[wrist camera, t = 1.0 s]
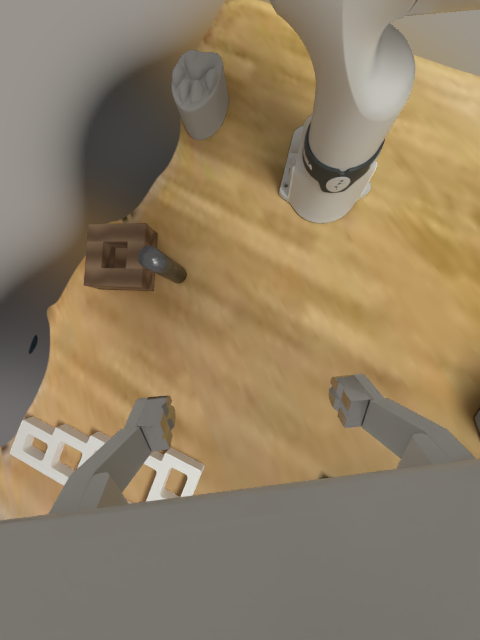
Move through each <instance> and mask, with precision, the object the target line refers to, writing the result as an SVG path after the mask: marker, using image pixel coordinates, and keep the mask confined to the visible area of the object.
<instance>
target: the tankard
mask: <svg viewBox="0 0 480 640" xmlns="http://www.w3.org/2000/svg"><path fill="white" fill-rule="evenodd" d="M474 419H475V421H476V424H477V427H478V430H479V433H480V410H479V411H478V413H477V415H476V416H475V418H474Z"/></svg>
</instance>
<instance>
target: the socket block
mask: <svg viewBox="0 0 480 640" xmlns="http://www.w3.org/2000/svg"><path fill="white" fill-rule="evenodd" d="M145 246H153V247H155V248H157V233H156V232H155V231H154V230H153V229H152V228H151V227H149V226H148V225H147V224H146V223H139V224H89V225H88V237H87V250H86V263H85V276H84V286H89V287H93V288H97V289H105V290H138V291H154V279H155V272H153V271H151V270H149V269H147V268H144V267H143V266H141V265H140V263H139V261H138V254H139V251H140V250H141V249H142V248H143V247H145Z"/></svg>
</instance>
